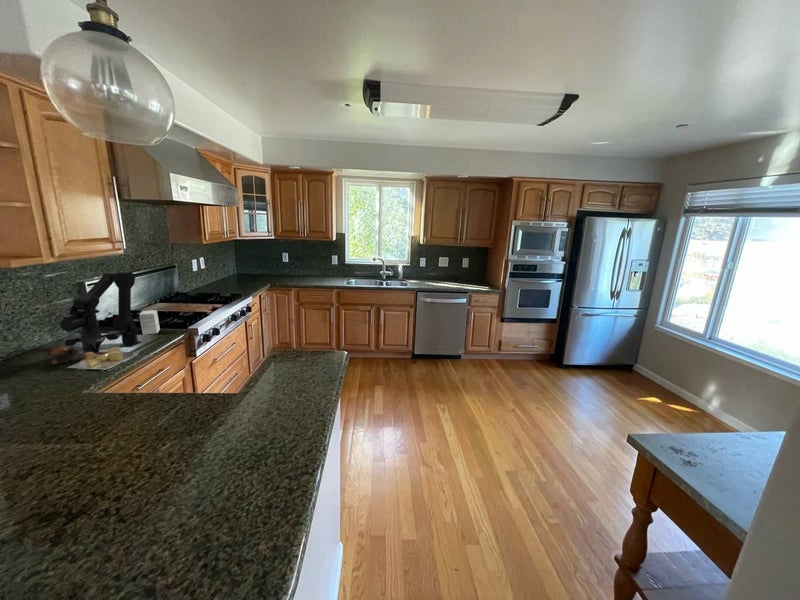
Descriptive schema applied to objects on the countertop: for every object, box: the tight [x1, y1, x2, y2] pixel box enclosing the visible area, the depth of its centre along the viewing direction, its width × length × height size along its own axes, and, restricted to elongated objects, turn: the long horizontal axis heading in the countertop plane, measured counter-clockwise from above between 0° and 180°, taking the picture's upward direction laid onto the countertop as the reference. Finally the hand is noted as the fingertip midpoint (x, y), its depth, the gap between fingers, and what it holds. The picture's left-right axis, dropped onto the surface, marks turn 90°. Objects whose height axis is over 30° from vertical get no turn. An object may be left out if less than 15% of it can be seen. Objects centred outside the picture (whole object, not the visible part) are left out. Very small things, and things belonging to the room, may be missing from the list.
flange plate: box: [66, 351, 139, 369], centre depth 156 cm, size 18×18×2 cm
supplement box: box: [138, 309, 161, 336], centre depth 194 cm, size 7×7×13 cm
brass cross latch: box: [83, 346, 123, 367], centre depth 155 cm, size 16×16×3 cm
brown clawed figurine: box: [45, 345, 79, 364], centre depth 156 cm, size 12×10×8 cm
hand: (97, 354), depth 158 cm, fingers closed
